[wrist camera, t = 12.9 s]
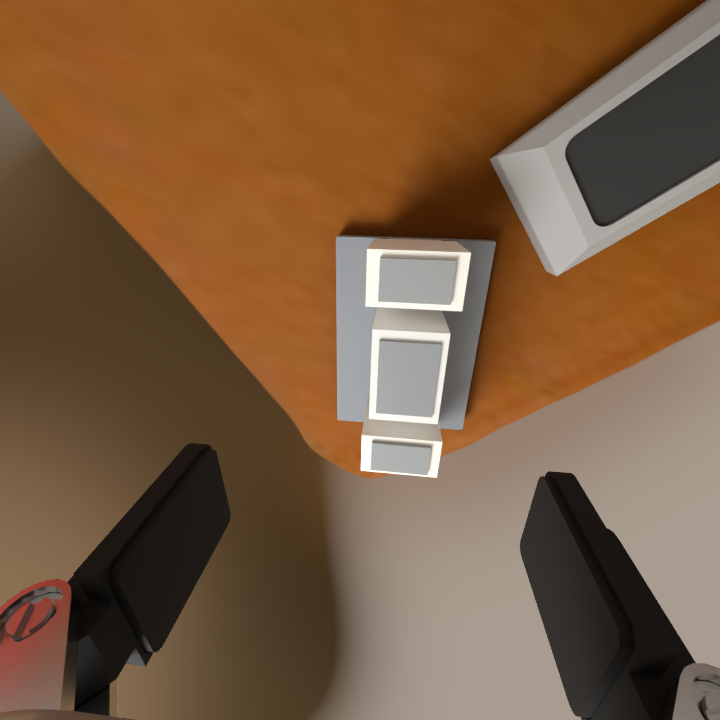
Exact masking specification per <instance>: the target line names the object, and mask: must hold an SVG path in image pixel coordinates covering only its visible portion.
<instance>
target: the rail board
mask: <svg viewBox="0 0 720 720" xmlns="http://www.w3.org/2000/svg"><path fill="white" fill-rule="evenodd" d="M495 246H496V242H495V241H493V240H483V239H452V238H422V237H391V236H360V235H338V236H336V302H337V420H344V421H357V422H364V425H363V431H362V444H361V471H370V472H381V473H392V474H403V475H414V476H424V477H434V478H437V473H438V467H439V460H440V454H441V447H442V437H441V431H440V428H443V429H455V430H462V429H463V423H464V418H465V412H466V407H467V401H468V396H469V390H470V385H471V379H472V374H473V368H474V362H475V357H476V351H477V346H478V340H479V335H480V329H481V324H482V318H483V312H484V307H485V301H486V296H487V290H488V285H489V279H490V274H491V268H492V263H493V257H494V251H495ZM377 307H384V308H403V309H423V310H442V312H443V315H444V317H445V320H446V323H447V325H448V328H449V331H450V341H449V348H448V355H447V362H446V369H445V376H444V383H443V391H442V398H441V405H440V412H439V419H438V424H426V423H414V422H401V421H389V420H376V419H369V402H370V375H371V349H372V328H373V324H374V319H375V315H376V310H377Z"/></svg>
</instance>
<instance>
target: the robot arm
mask: <svg viewBox="0 0 720 720" xmlns="http://www.w3.org/2000/svg"><path fill="white" fill-rule="evenodd" d="M229 521H230V508H229V505H228V500H227V496H226V491H225V487H224V483H223V478H222V474H221V470H220V466H219V461H218V457H217V453H216V451H215V450H212V448H211V446H210V445H206V444H195V443H190V444H188V445H186V446H185V447H184V448H183V450H182V451H181V452H180V453H179V454H178V455H177V456H176V458H175V459H174V460H173V461H172V462H171V463H170V465H169V466H168V467H167V468H166V469H165V470H164V471H163V472H162V474H161V475H160V476H159V477H158V478H157V479H156V480H155V481H154V483H153V484H152V485H151V486H150V487H149V488H148V489H147V491H146V492H145V493H144V494H143V495H142V496H141V497H140V499H139V500H138V501H137V502H136V503H135V504H134V505H133V507H132V508H131V509H130V510H129V511H128V512H127V513H126V514H125V516H124V517H123V518H122V519H121V520H120V521H119V522H118V524H117V525H116V526H115V527H114V528H113V529H112V530H111V531H110V533H109V534H108V535H107V536H106V537H105V538H104V540H103V541H102V542H101V543H100V544H99V545H98V546H97V547H96V549H95V550H94V551H93V552H92V553H91V554H90V555H89V556H88V558H87V559H86V560H85V561H84V562H83V563H82V564H81V566H80V567H79V568H78V569H77V570H76V571H75V572H74V575H73V577H72V578H71V579H70V580H69V581H68V582H66V581H63V580H59V579H53V580H46V581H43V582H40V583H37V584H34V585H32V586H30V587H28V588H26V589H25V590H22V591H21V592H19V593H18V594H16V595H15V596H14V597H12V598H11V599H9V600H8V601H7V602H6V603H5V604H4V605H2V606H1V607H0V720H132V719H126V718H118V712H117V711H118V708H117V707H118V706H117V704H118V703H117V677H118V675H119V674H120V672H121V670H122V669H123V667H124V665H125V664H126V663H127V664H134V665H141V666H146V665H147V663H148V661H149V660H150V658H151V656H152V654H153V652H157V651H159V650H160V648H161V647H162V646H163V644H164V643H165V641H166V639H167V637H168V635H169V633H170V631H171V630H172V628H173V626H174V624H175V622H176V620H177V618H178V617H179V615H180V613H181V611H182V609H183V607H184V605H185V604H186V602H187V600H188V598H189V596H190V594H191V593H192V591H193V589H194V587H195V585H196V583H197V581H198V580H199V578H200V576H201V574H202V572H203V570H204V568H205V566H206V565H207V563H208V561H209V559H210V557H211V556H212V554H213V552H214V550H215V548H216V546H217V544H218V542H219V541H220V539H221V537H222V535H223V533H224V531H225V529H226V528H227V526H228V523H229ZM520 551H521V556H522V559H523V562H524V566H525V568H526V572H527V574H528V578H529V581H530V584H531V587H532V590H533V593H534V597H535V600H536V603H537V606H538V609H539V612H540V615H541V618H542V621H543V624H544V627H545V631H546V634H547V637H548V640H549V643H550V646H551V649H552V652H553V655H554V659H555V661H556V665H557V668H558V671H559V674H560V677H561V680H562V683H563V686H564V689H565V693H566V696H567V699H568V702H569V705H570V707H571V709H572V711H573V713H574V714H575V715H576V716H579V717H581V719H582V720H720V668H717V667H714V666H711V665H708V664H700V663H699V664H698V663H695V661H694V660H693V658H692V656H691V655H690V653H689V651H688V650H687V648H686V647H685V645H684V644H683V642H682V640H681V639H680V637H679V636H678V634H677V632H676V631H675V629H674V627H673V626H672V624H671V623H670V621H669V619H668V618H667V616H666V614H665V613H664V611H663V610H662V608H661V606H660V605H659V603H658V602H657V600H656V599H655V597H654V595H653V594H652V592H651V590H650V589H649V587H648V586H647V584H646V582H645V581H644V579H643V577H642V576H641V574H640V573H639V571H638V570H637V568H636V566H635V565H634V563H633V562H632V560H631V558H630V557H629V555H628V553H627V552H626V550H625V549H624V547H623V545H622V544H621V542H620V541H619V539H618V538H617V536H616V535H615V534H614V533H613V532H612V531H611V530H609V529H607V528H606V527H605V525H604V523H603V522H602V520H601V518H600V517H599V515H598V513H597V512H596V510H595V508H594V507H593V505H592V504H591V502H590V500H589V499H588V497H587V495H586V494H585V492H584V490H583V489H582V487H581V486H580V484H579V482H578V480H577V479H576V477H575V476H574V475H573V474H571V473H561V472H547V473H546V475H545V477H543V476H541V477H540V478H539V480H538V483H537V487H536V490H535V493H534V497H533V500H532V504H531V507H530V511H529V514H528V517H527V521H526V524H525V528H524V531H523V534H522V538H521V542H520Z"/></svg>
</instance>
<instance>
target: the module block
mask: <svg viewBox="0 0 720 720" xmlns="http://www.w3.org/2000/svg"><path fill="white" fill-rule="evenodd" d="M449 341H450V331H449V328H448V325H447V323H446V320H445V317H444V315H443V312H442V310H423V309H403V308H384V307H377V310H376V315H375V319H374V324H373V328H372V349H371V375H370V402H369V419H376V420H389V421H401V422H414V423H426V424H438V419H439V412H440V405H441V398H442V391H443V383H444V376H445V369H446V362H447V355H448V348H449Z"/></svg>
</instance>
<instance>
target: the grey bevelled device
mask: <svg viewBox="0 0 720 720" xmlns="http://www.w3.org/2000/svg"><path fill="white" fill-rule="evenodd" d="M489 160H490V161H491V163H492V165H493V167H494V169H495V171H496V173H497V175H498V177H499V179H500V181H501V183H502V185H503V187H504V189H505V191H506V193H507V195H508V197H509V199H510V201H511V203H512V205H513V207H514V209H515V211H516V213H517V215H518V217H519V219H520V220H521V222H522V224H523V226H524V228H525V230H526V232H527V234H528V236H529V238H530V240H531V242H532V244H533V246H534V248H535V250H536V252H537V254H538V256H539V258H540V260H541V262H542V264H543V266H544V268H545V270H546V271H547V272H549V273H551V274H553V275H555V276H558V275H560V274H561V273H563V272H565V271H566V270H568V269H570V268H572V267H573V266H575V265H577V264H579V263H580V262H582V261H584V260H586V259H587V258H589V257H591V256H593V255H594V254H596V253H598V252H600V251H601V250H603V249H605V248H606V247H608V246H610V245H612V244H613V243H615V242H617V241H619V240H620V239H622V238H624V237H626V236H627V235H629V234H631V233H633V232H634V231H636V230H638V229H640V228H641V227H643V226H645V225H646V224H648V223H650V222H652V221H653V220H655V219H657V218H659V217H660V216H662V215H664V214H666V213H667V212H669V211H671V210H673V209H674V208H676V207H678V206H680V205H681V204H683V203H685V202H686V201H688V200H690V199H692V198H693V197H695V196H697V195H699V194H700V193H702V192H704V191H706V190H707V189H709V188H711V187H713V186H714V185H716V184H718V183H720V0H706V1H705V2H703V3H702V4H701V5H699V6H698V7H696V8H695V9H694V10H692V11H691V12H690V13H688V14H687V15H686V16H684V17H683V18H682V19H680V20H679V21H677V22H676V23H675V24H673V25H672V26H671V27H669V28H668V29H667V30H665V31H664V32H662V33H661V34H660V35H658V36H657V37H656V38H654V39H653V40H652V41H650V42H649V43H647V44H646V45H645V46H643V47H642V48H641V49H639V50H638V51H637V52H635V53H634V54H632V55H631V56H630V57H628V58H627V59H626V60H624V61H623V62H622V63H620V64H619V65H618V66H616V67H615V68H613V69H612V70H611V71H609V72H608V73H607V74H605V75H604V76H603V77H601V78H600V79H598V80H597V81H596V82H594V83H593V84H592V85H590V86H589V87H588V88H586V89H585V90H583V91H582V92H581V93H579V94H578V95H577V96H575V97H574V98H573V99H571V100H570V101H568V102H567V103H566V104H564V105H563V106H562V107H560V108H559V109H558V110H556V111H555V112H553V113H552V114H551V115H549V116H548V117H547V118H545V119H544V120H543V121H541V122H540V123H539V124H537V125H536V126H534V127H533V128H532V129H530V130H529V131H528V132H526V133H525V134H524V135H522V136H521V137H519V138H518V139H517V140H515V141H514V142H513V143H511V144H510V145H509V146H507V147H506V148H504V149H503V150H502V151H500V152H499V153H498V154H496V155H495V156H494V157H492V158H491V159H489Z"/></svg>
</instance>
